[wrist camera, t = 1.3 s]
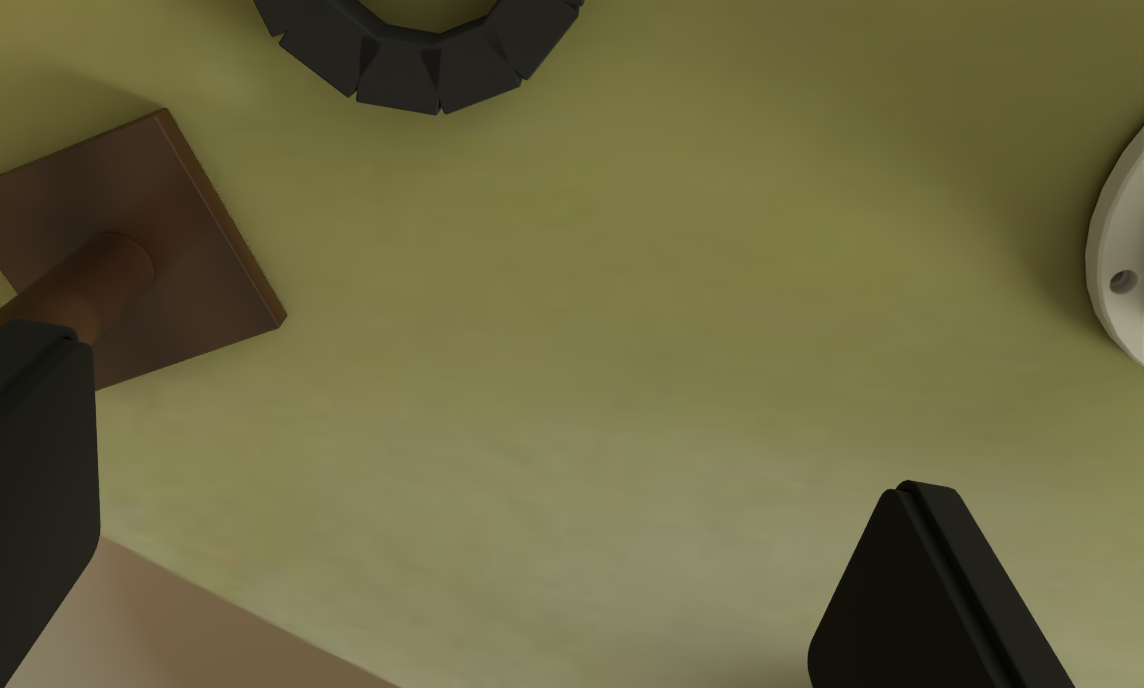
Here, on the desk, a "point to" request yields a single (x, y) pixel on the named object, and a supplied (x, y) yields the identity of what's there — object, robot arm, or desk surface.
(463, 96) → the charcoal ring
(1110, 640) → the desk surface
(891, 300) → the desk surface
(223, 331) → the peg stand
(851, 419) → the desk surface
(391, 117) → the desk surface
